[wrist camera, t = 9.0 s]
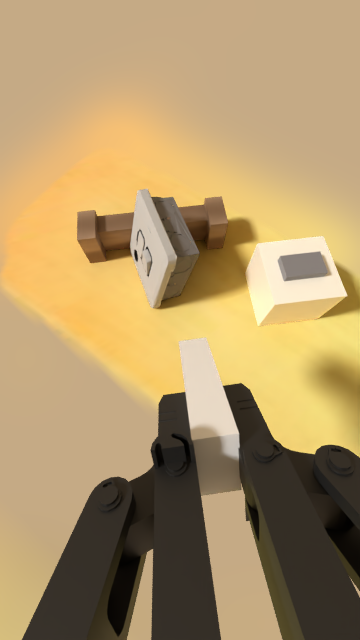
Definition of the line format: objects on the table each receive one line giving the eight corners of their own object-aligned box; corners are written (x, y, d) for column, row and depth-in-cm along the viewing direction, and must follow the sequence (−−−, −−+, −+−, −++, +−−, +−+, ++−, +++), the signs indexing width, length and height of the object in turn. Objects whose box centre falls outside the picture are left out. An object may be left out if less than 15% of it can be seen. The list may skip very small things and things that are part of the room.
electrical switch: (129, 250, 34) (120, 189, 26) (167, 241, 35) (170, 179, 27) (152, 312, 31) (150, 266, 22) (192, 300, 32) (206, 252, 23)
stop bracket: (222, 247, 34) (228, 222, 30) (90, 262, 33) (77, 239, 29) (216, 223, 35) (221, 196, 31) (90, 237, 35) (77, 212, 31)
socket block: (317, 319, 30) (352, 291, 24) (257, 326, 30) (277, 301, 24) (299, 267, 33) (327, 231, 27) (244, 274, 33) (259, 238, 26)
